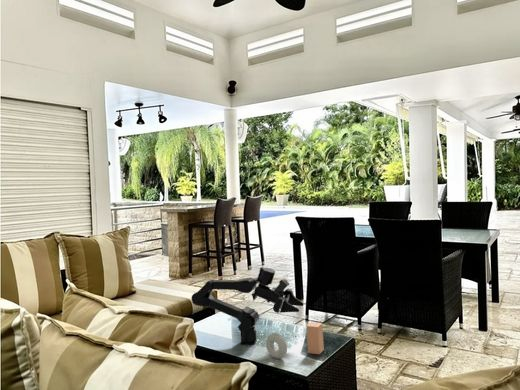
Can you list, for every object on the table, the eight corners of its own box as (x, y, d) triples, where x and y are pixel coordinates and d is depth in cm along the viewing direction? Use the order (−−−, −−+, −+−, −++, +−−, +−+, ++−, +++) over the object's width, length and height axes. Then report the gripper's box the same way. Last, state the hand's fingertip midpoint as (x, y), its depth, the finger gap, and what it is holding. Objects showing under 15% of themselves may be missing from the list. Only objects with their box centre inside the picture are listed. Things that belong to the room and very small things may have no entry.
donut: (264, 357, 163) (263, 332, 163) (270, 354, 165) (268, 329, 165) (284, 362, 156) (282, 336, 156) (289, 359, 159) (288, 334, 159)
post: (308, 352, 164) (306, 325, 164) (312, 348, 169) (310, 322, 169) (319, 354, 162) (317, 327, 162) (323, 349, 166) (322, 323, 166)
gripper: (267, 281, 168) (302, 295, 164) (279, 272, 186) (310, 285, 181) (259, 305, 169) (294, 320, 165) (271, 294, 187) (303, 308, 183)
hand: (301, 307), depth 173 cm, fingers open, 9 cm apart
